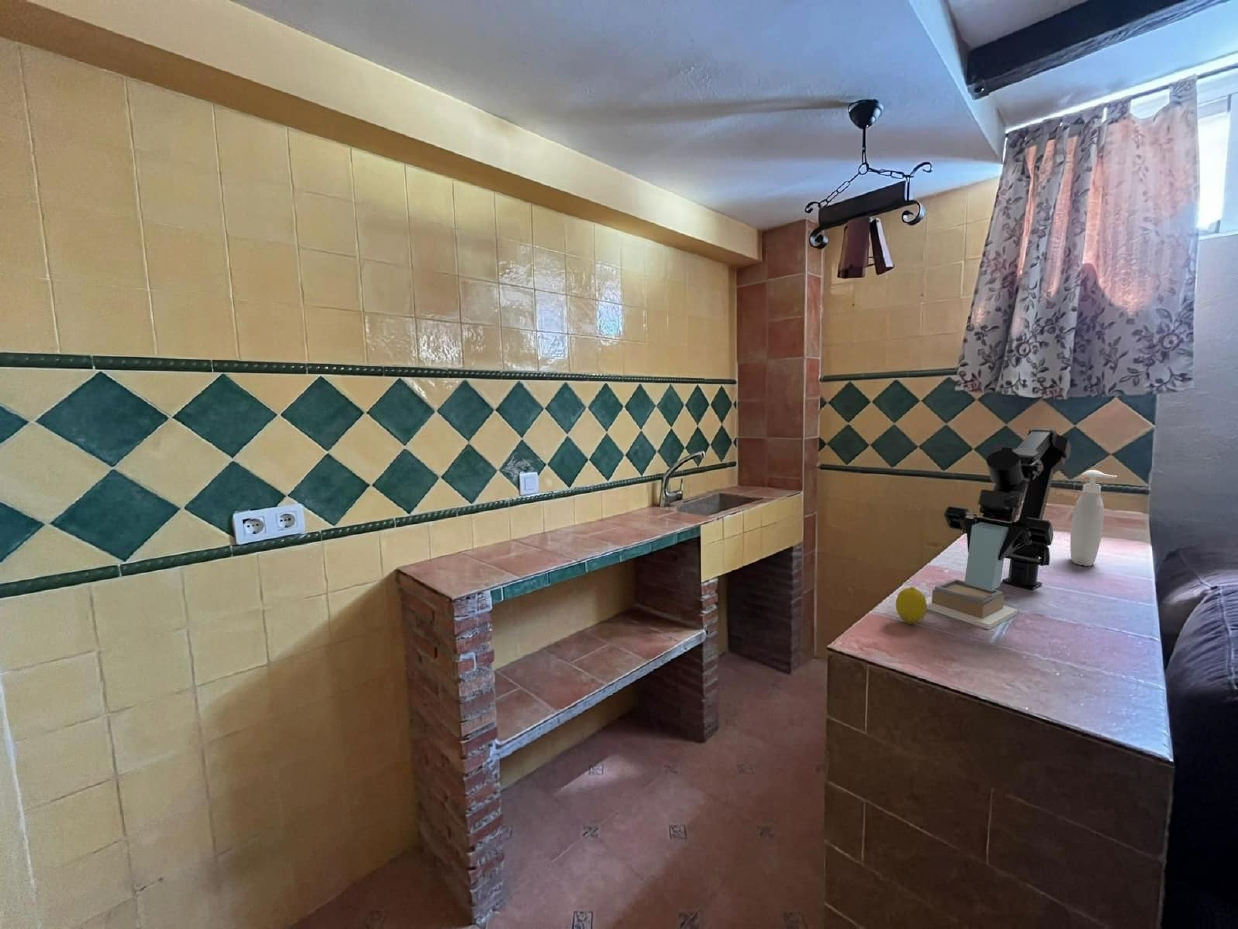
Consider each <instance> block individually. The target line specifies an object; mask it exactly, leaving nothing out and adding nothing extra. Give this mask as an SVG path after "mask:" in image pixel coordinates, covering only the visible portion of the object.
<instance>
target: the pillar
mask: <svg viewBox="0 0 1238 929" xmlns="http://www.w3.org/2000/svg"><path fill="white" fill-rule="evenodd" d="M1007 534H1008V527H1004V526H999V525H993V524H988V523H983V522H980V523H977V524H975V525H972V530H971V538H970V545H969V553H968V552H967V553H968V554H967V561H966V562H967V563H966V569H965V575H964V576H965V577H964V581H965V584H968V585H971V586H975V587H978V588H982V589H986V590H989V591H993V590H997V589H998V588H999V587H1001V583H1002V574H1003V568H1004V562H1005V558H1004V559H1003V560H1001V561H1000V560H998V556H999V553H1000V550H1001V548H1002V546H1003V544H1004V542H1005V540H1006V538H1007Z"/></svg>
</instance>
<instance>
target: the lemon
mask: <svg viewBox="0 0 1238 929" xmlns="http://www.w3.org/2000/svg"><path fill="white" fill-rule="evenodd" d="M925 598H926V597H925V595H924V594H923V593H922V592H921V591H920V590H918V589H916V587H914V586H910V587H907V588H904V589H902V590H901V591H900V592H898V595H897V597H896V600H895V609H896V612H897V614H898V616H899V617H900V618H901V619H902V620H904V621H906V623H907V624H909V625H912V624H914V623H919V622H920V621H921V620H923V618H924V617H925V616H926V615H927V610H928V609H927V604H926V599H925Z"/></svg>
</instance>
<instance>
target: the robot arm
mask: <svg viewBox="0 0 1238 929" xmlns="http://www.w3.org/2000/svg"><path fill="white" fill-rule="evenodd" d="M1071 451H1072V446H1071V442H1070V440H1069V439H1068V438H1066V437H1065V436H1064V435H1063V436H1062V435H1060V434H1059V433H1057V430H1053V429H1052V428H1033V429H1029V431H1028V433H1027V436H1026V437H1025V438H1024V440H1023V441H1022V442H1020V444H1019V445H1018V447H1017V448H1014V447H1010V446H1009V447H1008V446H1002V448H1001V450H998V451H995V452H992V453H991V454H989V455H988V456H987V458H986V464H987V468H988V471H989V472H988V473H989V476H990V480H991V483H994V485H993V487H992V490H991V489H981V490H980V493H979V497H978V502H977V504H978V505H979V506H980V507H979V510H978V511H979V513H980V514H982V516H981V515H977V514H975V513H974V512H969V508H967V507H963V506H962V507H961V506H954V505H949V506H947V507H946V508H945V510H944V512H943V516H944V518H945V522H946V523H947V526H948V527H949V528H950V529H953V530H957V531H958V530H959V531H962V533H963V534H965V535H966V543H967V553H969V545H970V538H971V530H972V525H975V524H977V523H980V522H983V523H988V524H993V525H999V526H1004V527H1008V534H1007V538H1006V540H1005V542H1004V544H1003V546H1002V548H1001V550H1000V553H999V556H998V560H1000V561H1001V560H1003V559H1004V560H1005V559H1008V560H1009V564H1008V565H1009V567H1008V575H1007V576H1008V577H1005V578H1003V579H1001V583H1005V584H1010V585H1013V586H1016V587H1021V588H1025V589H1028V590H1035V589H1037V588H1039V587H1040V585H1041V586H1043V583H1042V582H1040V581H1038V575H1039V566H1041V567H1044V566H1050V561H1051V552H1050V548H1049V546H1052V544H1053V540H1054V531H1053V530H1054V529H1053V525H1052V522H1051V521H1050V520H1049V519H1043V518H1044V514H1045V510H1046V507H1047V502H1048V497H1049V495H1050V491H1051V487H1052V483H1053V478H1054V476H1055V474H1056V473H1057V472H1059V471H1060V470H1061V469H1063V468H1064V467H1065V465H1066V462H1067V459H1069V458H1070V457H1071V453H1072V452H1071ZM1026 480H1028V482H1027V481H1026ZM1018 516H1019V517H1018ZM1017 517H1018V519H1017ZM1016 519H1017V520H1016Z"/></svg>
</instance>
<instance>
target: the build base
mask: <svg viewBox="0 0 1238 929" xmlns="http://www.w3.org/2000/svg"><path fill="white" fill-rule="evenodd" d="M931 593H932V594H931V595H930V596H928V597H925V599H926V604H927V610H929V611H931V612H935V613H938V614H941V615H945V616H947V617H950V618H953V619H956V620H959V621H963V622H965V623H968V624H971V625H974V626H976V627H979V628H983V629H985V630H991V629H992V628H994V627H997V626H998V625H1000V624H1001V623H1003V622H1005V621H1007V620H1009V619H1011V618H1013V617H1014V616H1016V615H1017V614H1018V609H1017V608H1013V607H1010V606H1008V605H1004V600H1005V595H1004V594H1003V591H1001V590H997V589H995V590H993V591H989V590H986V589H982V588H978V587H975V586H971V585H968V584H965V580H961V579H957V578H954V579H951V580H948V581H945V582H943V583H940V584H938V585H936V586H934V589H932V592H931Z"/></svg>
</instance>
